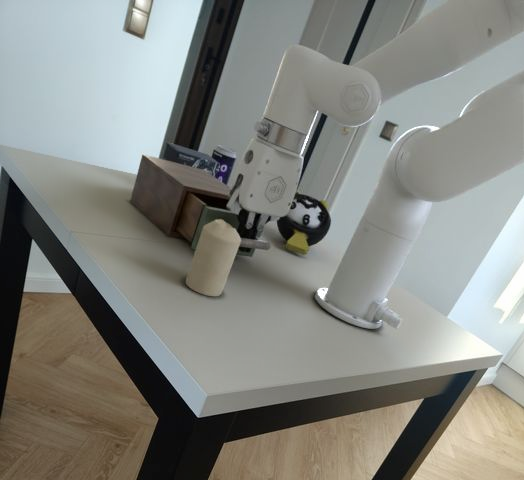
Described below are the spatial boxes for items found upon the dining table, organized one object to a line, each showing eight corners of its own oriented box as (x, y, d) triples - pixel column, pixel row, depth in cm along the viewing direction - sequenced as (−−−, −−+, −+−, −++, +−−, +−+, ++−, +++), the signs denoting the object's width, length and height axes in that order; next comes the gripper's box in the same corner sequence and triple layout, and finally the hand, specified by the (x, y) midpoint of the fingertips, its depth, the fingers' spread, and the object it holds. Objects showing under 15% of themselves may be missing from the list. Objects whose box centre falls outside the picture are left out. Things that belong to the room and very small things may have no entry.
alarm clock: (257, 252, 114) (262, 183, 112) (299, 258, 124) (304, 195, 122) (297, 253, 105) (303, 178, 104) (338, 259, 116) (345, 192, 114)
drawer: (272, 273, 89) (288, 234, 86) (214, 267, 80) (229, 224, 77) (210, 224, 101) (222, 189, 98) (154, 215, 92) (165, 175, 89)
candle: (228, 296, 75) (252, 233, 70) (201, 297, 70) (225, 230, 66) (205, 278, 77) (226, 216, 73) (177, 278, 73) (198, 213, 69)
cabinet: (231, 244, 98) (247, 199, 94) (168, 236, 88) (184, 185, 84) (190, 212, 107) (204, 169, 103) (130, 201, 97) (142, 154, 93)
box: (163, 199, 108) (177, 150, 103) (152, 188, 112) (165, 140, 108) (206, 208, 114) (221, 163, 110) (193, 198, 119) (207, 153, 114)
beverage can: (197, 190, 127) (212, 141, 122) (217, 195, 130) (232, 149, 125) (204, 197, 123) (220, 148, 118) (224, 203, 126) (241, 155, 121)
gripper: (259, 133, 70) (217, 254, 78) (328, 157, 80) (285, 262, 88) (229, 118, 75) (192, 234, 82) (299, 142, 85) (260, 243, 93)
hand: (240, 248), depth 85 cm, fingers closed
